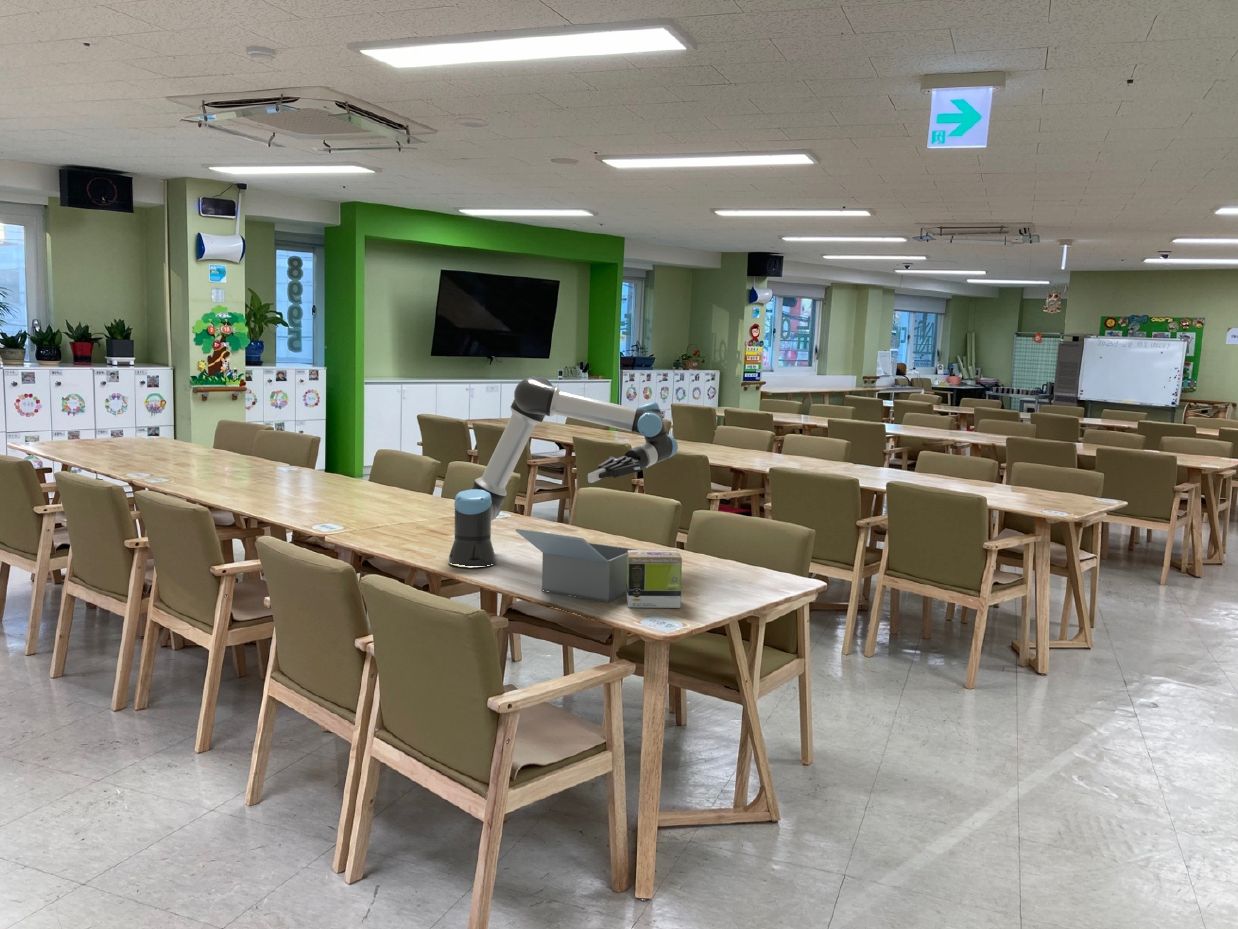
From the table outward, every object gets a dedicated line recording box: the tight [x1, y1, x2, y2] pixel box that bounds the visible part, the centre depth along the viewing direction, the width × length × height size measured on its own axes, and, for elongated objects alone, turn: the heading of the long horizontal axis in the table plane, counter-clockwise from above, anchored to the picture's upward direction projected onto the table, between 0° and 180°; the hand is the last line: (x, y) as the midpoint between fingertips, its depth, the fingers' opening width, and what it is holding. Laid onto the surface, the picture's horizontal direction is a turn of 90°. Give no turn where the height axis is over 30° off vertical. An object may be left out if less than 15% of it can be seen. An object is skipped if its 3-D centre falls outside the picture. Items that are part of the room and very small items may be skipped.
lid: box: [515, 528, 608, 563], centre depth 264 cm, size 21×18×1 cm
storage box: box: [541, 542, 638, 603], centre depth 280 cm, size 22×18×12 cm
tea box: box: [625, 549, 683, 609], centre depth 267 cm, size 15×10×15 cm, turn 92°
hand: (589, 478), depth 291 cm, fingers closed
